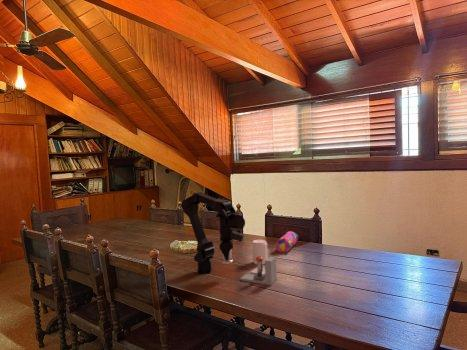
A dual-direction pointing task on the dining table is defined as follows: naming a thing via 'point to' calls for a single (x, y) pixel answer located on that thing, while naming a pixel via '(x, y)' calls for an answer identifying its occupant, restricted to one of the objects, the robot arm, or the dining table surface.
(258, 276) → the ball-topped lever
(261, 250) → the beige cylinder
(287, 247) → the pencil case
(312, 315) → the dining table surface
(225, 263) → the knob
